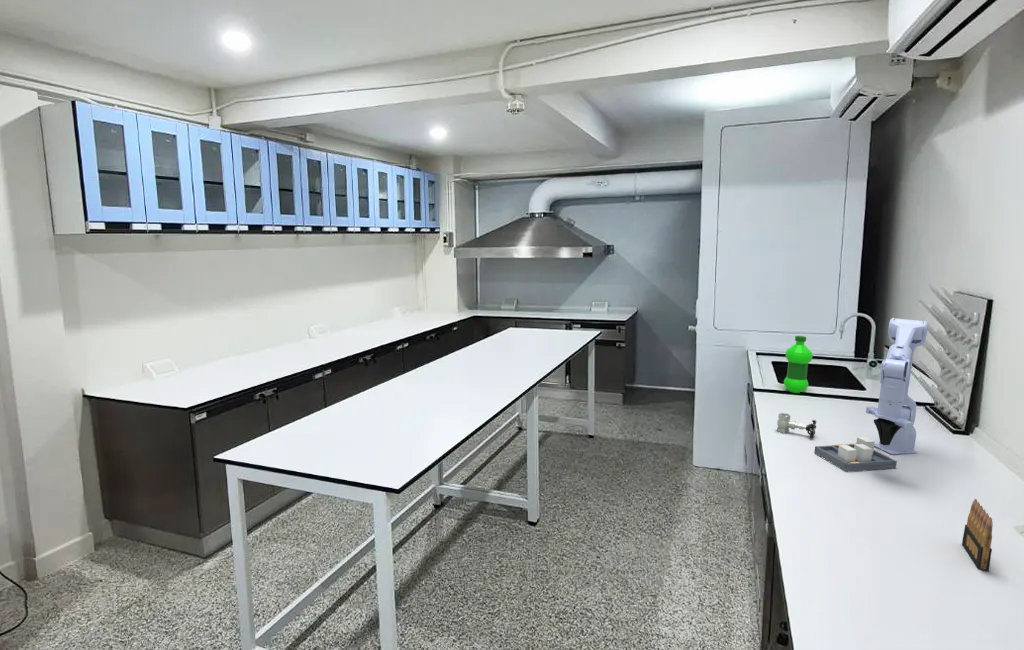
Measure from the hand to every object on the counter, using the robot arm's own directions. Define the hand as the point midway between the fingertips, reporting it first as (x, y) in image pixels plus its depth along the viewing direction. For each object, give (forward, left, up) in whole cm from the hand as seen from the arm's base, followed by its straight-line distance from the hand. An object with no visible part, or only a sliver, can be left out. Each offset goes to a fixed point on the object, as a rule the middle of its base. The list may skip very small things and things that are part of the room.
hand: (884, 444), depth 163 cm
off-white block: (0, -8, -8) cm, 11 cm away
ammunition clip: (+13, +40, -10) cm, 43 cm away
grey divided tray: (0, -11, -10) cm, 14 cm away
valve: (+3, -34, -10) cm, 36 cm away
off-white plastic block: (+5, -8, -8) cm, 12 cm away
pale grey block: (-6, -13, -8) cm, 16 cm away
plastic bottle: (-31, -81, -10) cm, 87 cm away
